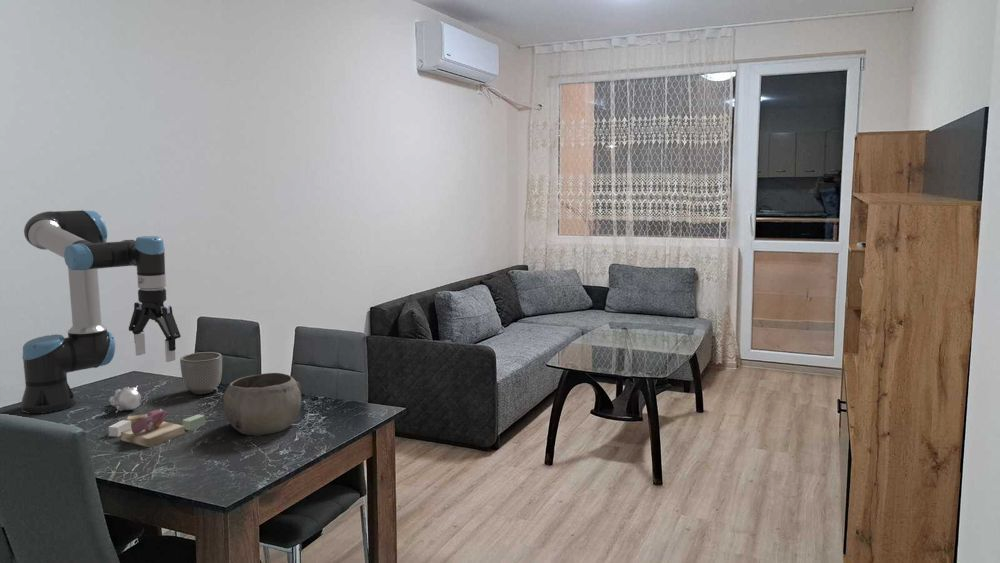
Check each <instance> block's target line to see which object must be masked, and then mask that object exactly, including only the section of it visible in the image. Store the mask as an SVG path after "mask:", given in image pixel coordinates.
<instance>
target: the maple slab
mask: <svg viewBox="0 0 1000 563" xmlns="http://www.w3.org/2000/svg"><path fill="white" fill-rule="evenodd" d="M185 431H186V429H185V428H184V426H183V424H177V423H172V422H167V421H163V422H162V423H161V425H160V426H159V427H158V428H155V427H153V428H152V430H151V431H149V432H147V431H146V430H145V429H144V430H143V431H141V432H140V433H137V434H134V433H133V432H132V428H131V429H128V430H126V431H123V432H121V436H120V437H121V438H120V439H121V441H122V442H127V443H130V444H134V445H140V446H142V447H147V448H151V447H154V446H157V445H159V444H162V443H165V442H168V441H170V440H173V439H175V438H179V437H181V436H184V435H185V434H186V432H185ZM178 436H179V437H178Z"/></svg>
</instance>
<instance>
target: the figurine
mask: <svg viewBox="0 0 1000 563" xmlns="http://www.w3.org/2000/svg"><path fill="white" fill-rule="evenodd" d="M138 388H139V386H138V385H135V386H132V387H129V386H125V387H123V388H122V389H116V390H115V391H114V395H113V396H110V397H109V398H108V400H109V403H110V405H111V406H113V407H115V409H117V410H115V413H116V414H117V413H118V412H119V411H120V412H122V411H131V410H135V409H137V407H139V406H140V404H141V401H142V398H141V397H142V396H141V393H140V392H139V389H138Z"/></svg>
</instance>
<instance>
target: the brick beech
mask: <svg viewBox="0 0 1000 563" xmlns="http://www.w3.org/2000/svg"><path fill="white" fill-rule="evenodd" d="M147 414H148V413H144V414H137V415H128V416H127V419H126V421H131V428H133V426H134V425H135V424H137V423H138V422H139V421H140V420H141V419H142V418H143V417H144V416H145V415H147Z"/></svg>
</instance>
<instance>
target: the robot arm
mask: <svg viewBox="0 0 1000 563" xmlns="http://www.w3.org/2000/svg"><path fill="white" fill-rule="evenodd" d="M23 233H24V234H23V235H24V237H25V239H26V241H27V242H28V243H29V244H30V245H31V246H33V247H35V248H36V249H38V250H46V251H47V250H48V251H50V252H51V253H54V254H56V255H58V256H59V257H62V258H63V259H64V262H65V265H66V266H67V270H68V281H69V282H68V284H69V296H70V297H69V298H70V308H71V322H72V325H71V327H70V328H69V329H68V330H67V336H68V337H64V336H63V335H62V334H51V335H50V334H47V335H43V336H38V337H35V338H31V339H30V340H28V341H26V342H25V343H24V344H23V346H22V355H21V356H22V357H21V358H22V363H23V370H24V382H25V388H24V391H23V392H24V393H23V395H22V398H21V402H20V410H23V411H26V412H29V413H41V414H43V413H42V412H50V411H55V412H59V411H58V410H60V411H63V410H62V409H64V410H66V408H67V409H69V408H71V407H73V406H74V405H76V404H75V403H76V401H75V400H76V398H75V394H73V391H72V389H71V387H70V385H69V383H68V377H67V374H68V373H71V372H78V371H81V370H88V369H93V368H94V369H96V368H99V367H103V366H106V365H109V364H110V363H111V362H112V360H113V359H114V357H115V353H116V342H115V339H114V335H113V334H112V333H111V332H110V331H108V330H107V329H108V328H107V327H106V325H104V324H103V322H102V315H101V314H102V313H101V301H100V300H101V298H100V288H99V287H100V286H99V274H98V271H99V270H100V269H107V268H109V269H110V268H119V267H136V275H137V288H138V290H137V298H138V299H137V300H138V301H137V302H134V304H133V312H132V316H131V319H130V321H129V325H128V331H129V332H132V334H133V337H134V347H135V356H141V355H145V354H146V339H145V331H144V329H145V328H146V326H147V325H148V323H149V320H151V321H154V322H155V323H157V324H158V326H159V327H160V328H159V329H161V331H162V334H163V335H164V337H165V339H164V350H165V351H164V352H165V353H164V354H165V362H166V363H169V362H173V361H176V340H177V339H180V338H181V333H180V330H179V328H178V327H179V326H178V325H177V323H176V319H175V316H174V313H173V309H172V308H173V307H172V306H171V305H168V306H165V305H164V302H166V300H167V289H166V286H167V283H166V282H167V280H166V279H167V278H166V263H165V262H166V260H165V259H166V257H165V250H166V249H165V247H164V245H165V243H164V239H163V238H162V237H161V236H155V235H146V236H145V235H143V236H137V237H136V239H135V240H134V239H123V240H121V241H110V242H108V241H107V240H108V228H107V225H106V223H105V221H104V218H103V217H102V216H101V214H99V213H98V212H96V211H94V210H83V209H81V210H63V211H59V210H58V211H43V212H40V213H36V214H35V215H34V216H32V217H31V218H29V220H27V222H26V224H25V225H24V229H23ZM98 269H99V270H98ZM29 413H28V414H29ZM50 413H51V412H50Z"/></svg>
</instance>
